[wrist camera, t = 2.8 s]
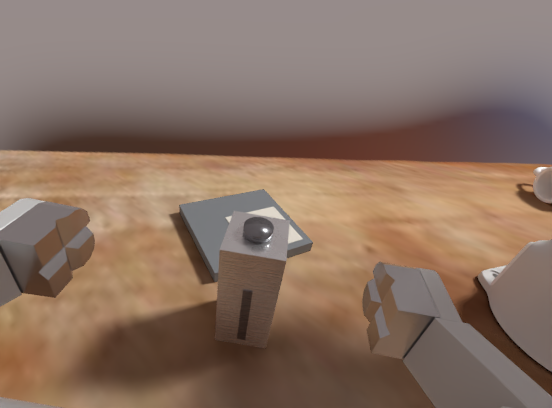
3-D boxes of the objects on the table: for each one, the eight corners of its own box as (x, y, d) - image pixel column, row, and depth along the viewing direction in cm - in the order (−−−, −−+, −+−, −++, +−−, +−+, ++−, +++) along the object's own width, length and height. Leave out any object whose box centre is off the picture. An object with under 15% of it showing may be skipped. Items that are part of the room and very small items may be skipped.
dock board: (262, 196, 50) (263, 188, 49) (310, 250, 41) (313, 241, 40) (179, 213, 43) (179, 204, 42) (214, 282, 34) (214, 272, 33)
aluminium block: (271, 304, 33) (291, 212, 26) (265, 349, 28) (288, 254, 21) (226, 296, 33) (234, 202, 25) (214, 340, 28) (219, 242, 21)
